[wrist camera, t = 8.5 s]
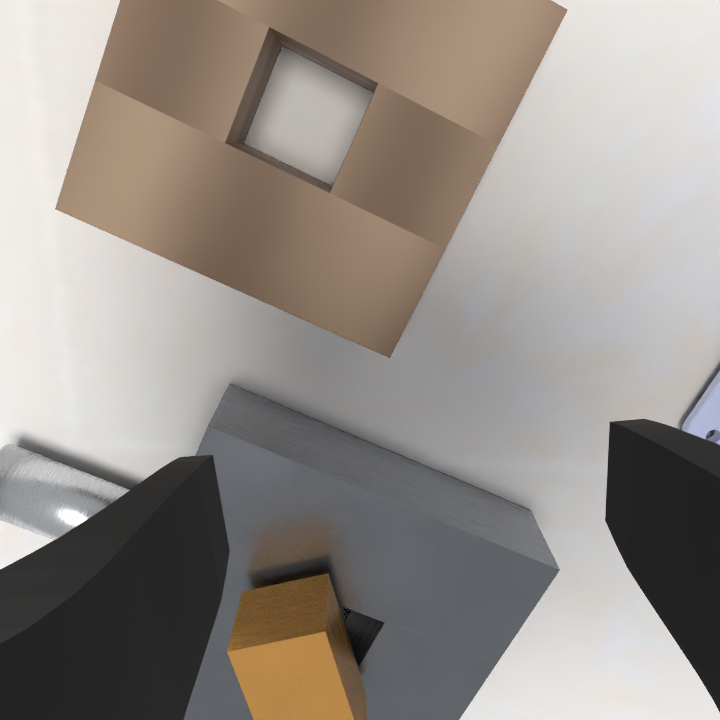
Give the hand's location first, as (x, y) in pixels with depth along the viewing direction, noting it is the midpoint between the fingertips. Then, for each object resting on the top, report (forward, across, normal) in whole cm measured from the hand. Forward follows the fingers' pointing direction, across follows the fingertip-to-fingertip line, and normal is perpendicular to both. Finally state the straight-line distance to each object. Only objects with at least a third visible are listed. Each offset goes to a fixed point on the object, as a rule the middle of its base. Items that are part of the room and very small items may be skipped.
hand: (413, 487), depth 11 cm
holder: (+10, +2, -7) cm, 13 cm away
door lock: (+10, +6, +8) cm, 14 cm away
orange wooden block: (+10, +3, +9) cm, 14 cm away
